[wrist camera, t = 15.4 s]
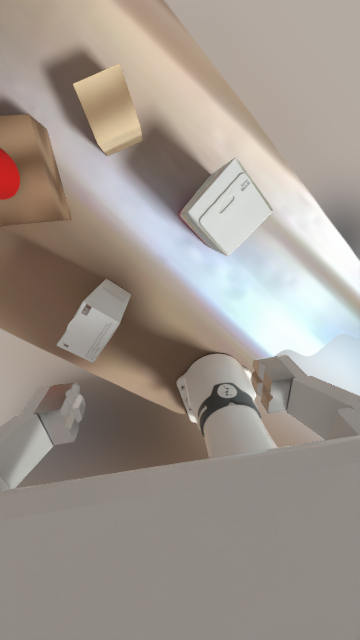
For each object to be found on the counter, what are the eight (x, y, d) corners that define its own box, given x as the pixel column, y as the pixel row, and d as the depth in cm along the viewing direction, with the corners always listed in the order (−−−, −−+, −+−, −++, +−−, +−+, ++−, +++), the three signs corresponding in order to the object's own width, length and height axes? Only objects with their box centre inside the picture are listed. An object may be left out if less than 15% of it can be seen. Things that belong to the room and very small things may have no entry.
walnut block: (71, 219, 37) (59, 219, 32) (-3, 226, 36) (-25, 227, 31) (46, 129, 31) (28, 114, 27) (-40, 134, 31) (-73, 120, 26)
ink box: (209, 249, 41) (227, 259, 30) (176, 214, 38) (184, 212, 27) (243, 212, 39) (276, 210, 28) (211, 172, 36) (235, 153, 25)
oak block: (142, 141, 33) (140, 126, 28) (107, 156, 34) (97, 144, 28) (125, 90, 31) (119, 63, 25) (87, 107, 31) (72, 83, 26)
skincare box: (112, 323, 45) (93, 367, 32) (85, 308, 43) (53, 348, 30) (133, 291, 43) (122, 324, 30) (105, 274, 41) (80, 301, 28)
